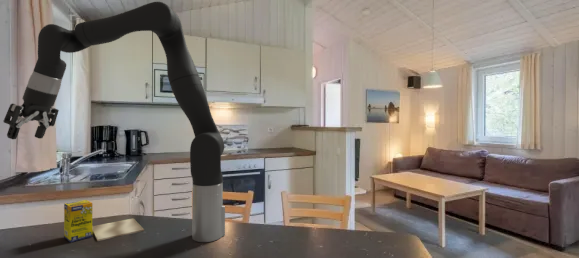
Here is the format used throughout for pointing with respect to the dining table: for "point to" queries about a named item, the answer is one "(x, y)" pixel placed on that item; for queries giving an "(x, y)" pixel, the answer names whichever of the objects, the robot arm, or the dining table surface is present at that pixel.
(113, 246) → the dining table surface
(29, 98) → the robot arm
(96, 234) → the birch board
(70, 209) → the supplement box
